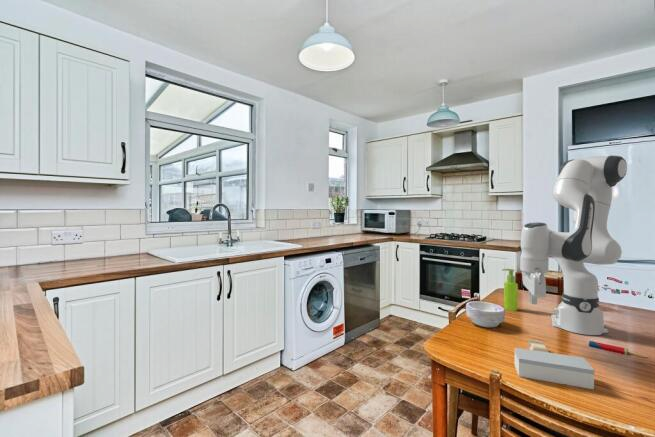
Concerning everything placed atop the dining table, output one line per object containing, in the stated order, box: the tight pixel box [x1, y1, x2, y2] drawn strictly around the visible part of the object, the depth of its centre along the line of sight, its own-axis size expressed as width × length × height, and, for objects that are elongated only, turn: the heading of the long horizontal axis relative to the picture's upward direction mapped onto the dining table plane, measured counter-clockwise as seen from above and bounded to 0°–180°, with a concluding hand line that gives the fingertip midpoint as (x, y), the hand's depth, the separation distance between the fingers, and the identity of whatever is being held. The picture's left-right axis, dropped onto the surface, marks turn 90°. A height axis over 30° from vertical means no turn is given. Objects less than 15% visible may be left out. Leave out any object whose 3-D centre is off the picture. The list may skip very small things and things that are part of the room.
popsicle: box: [588, 340, 648, 359], centre depth 112 cm, size 5×2×15 cm
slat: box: [528, 339, 550, 353], centre depth 107 cm, size 16×4×3 cm, turn 157°
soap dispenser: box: [501, 268, 519, 312], centre depth 159 cm, size 6×7×20 cm
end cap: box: [513, 347, 595, 390], centre depth 95 cm, size 8×18×5 cm, turn 67°
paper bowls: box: [465, 300, 506, 328], centre depth 138 cm, size 15×15×8 cm
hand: (533, 303), depth 118 cm, fingers closed
